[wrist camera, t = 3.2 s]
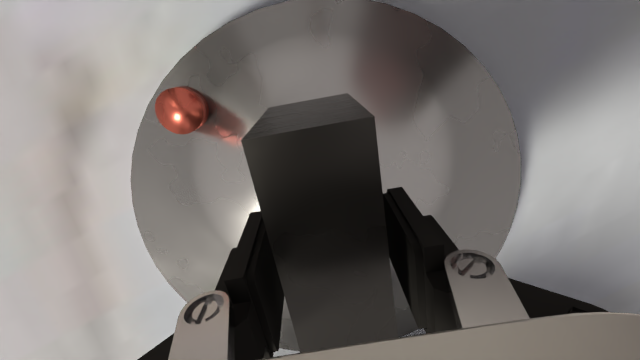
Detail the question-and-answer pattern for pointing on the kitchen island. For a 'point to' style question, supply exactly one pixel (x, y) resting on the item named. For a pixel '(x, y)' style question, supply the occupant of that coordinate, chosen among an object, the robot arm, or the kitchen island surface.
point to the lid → (322, 158)
